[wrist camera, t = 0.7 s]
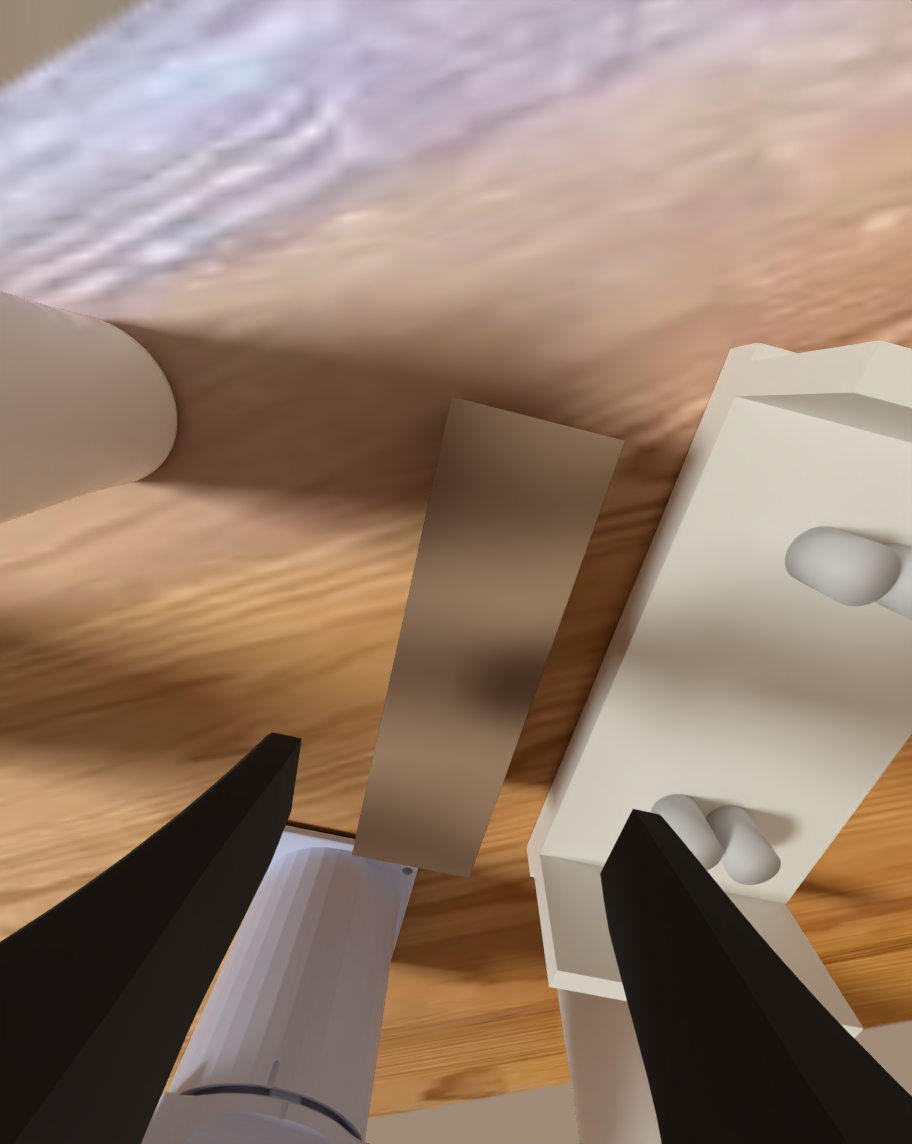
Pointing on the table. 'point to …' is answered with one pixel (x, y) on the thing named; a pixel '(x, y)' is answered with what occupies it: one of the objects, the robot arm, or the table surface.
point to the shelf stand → (750, 657)
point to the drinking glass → (75, 407)
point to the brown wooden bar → (478, 627)
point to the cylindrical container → (606, 1071)
